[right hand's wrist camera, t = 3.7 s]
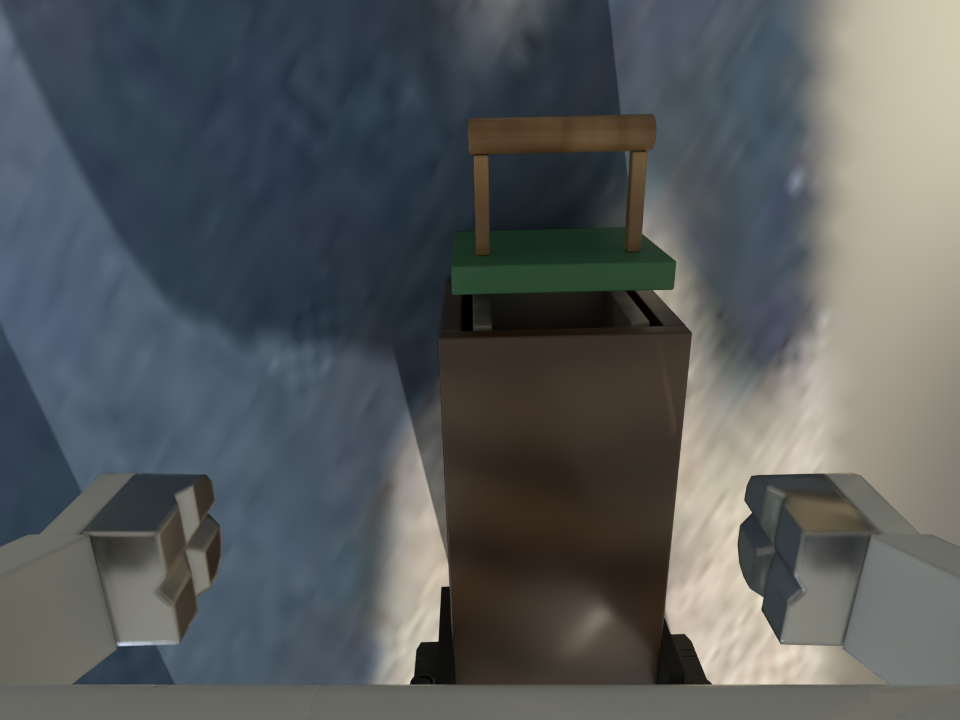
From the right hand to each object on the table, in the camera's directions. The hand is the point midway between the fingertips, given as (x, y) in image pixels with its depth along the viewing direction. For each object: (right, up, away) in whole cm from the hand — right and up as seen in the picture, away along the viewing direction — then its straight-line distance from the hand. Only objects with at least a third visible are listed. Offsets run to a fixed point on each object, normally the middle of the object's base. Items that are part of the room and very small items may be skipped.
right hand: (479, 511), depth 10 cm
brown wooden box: (+4, -3, +29) cm, 30 cm away
